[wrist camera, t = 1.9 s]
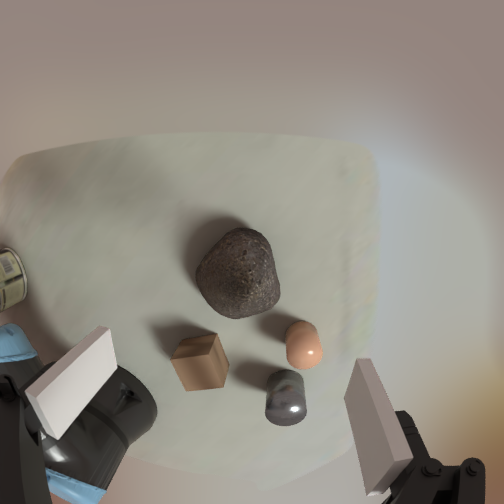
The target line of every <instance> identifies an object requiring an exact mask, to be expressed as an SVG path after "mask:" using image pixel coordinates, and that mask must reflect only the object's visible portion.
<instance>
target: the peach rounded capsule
mask: <svg viewBox="0 0 504 504" xmlns="http://www.w3.org/2000/svg"><path fill="white" fill-rule="evenodd" d="M285 337H286V353H287V360H288V362H289V364H290V365H291V366H293V367H295V368H297V369H309V368H312V367H314V366H315V365H317V364H318V363H319V362H320V360H321V358H322V355H323V351H322V347H321V344H320V340H319V336H318V333H317V330H316V328H315V326H314V325H312V324H311V323H309V322H305V321H301V322H296V323H294V324H292V325H291V326H290V327H289V328H288V329H287V331H286V336H285Z"/></svg>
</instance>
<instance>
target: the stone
mask: <svg viewBox="0 0 504 504" xmlns="http://www.w3.org/2000/svg"><path fill="white" fill-rule="evenodd" d="M196 281H197V284H198V287H199V289H200V291H201V294H202V296H203V297H204V298H205V300H206V301H207V303H208V304H209V305H210V306H211V307H212V308H213V309H214V310H215V311H216V312H218V313H219V314H221V315H223V316H225V317H228V318H231V319H240V318H245V317H249V316H252V315H256V314H258V313H261V312H264V311H266V310H269V309H271V308H272V307H273V306H274V305H275V304H276V303H277V302H278V300H279V298H280V284H279V280H278V277H277V273H276V269H275V262H274V258H273V254H272V250H271V247H270V244H269V242H268V241H267V239H266V238H265V237H264V236H263V235H262V234H261V233H259V232H257V231H256V230H253V229H247V228H236V229H234V230H232V231H230V232H228V233H227V234H226V235H225V236H224V237H223V238H222V239H221V240H220V241H219V242H218V243H217V244H216V245H215V246H214V247H213V248H212V249H211V250H210V251H209V252H208V254H207V255H206V256H205V257H204V259H203V260H202V262H201V264H200V265H199V267H198V268H197V271H196Z"/></svg>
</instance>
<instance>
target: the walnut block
mask: <svg viewBox="0 0 504 504" xmlns="http://www.w3.org/2000/svg"><path fill="white" fill-rule="evenodd" d="M170 360H171V363H172V365H173V367H174V369H175V371H176V373H177V375H178V377H179V379H180V381H181V382H182V384H183V386H184V388H185V390H186V391H196V390H206V389H214V388H223V387H224V383H225V380H226V376H227V372H228V368H229V362H228V360H227V357H226V355H225V352H224V350H223V347H222V345H221V342H220V340H219V337H218V334H212V335H206V336H201V337H195V338H189V339H183V340H182V341H181V342H180V344H179V346H178V347H177V349H176V351H175V352H174V354H173V356H172V358H171V359H170Z"/></svg>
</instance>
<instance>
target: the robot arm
mask: <svg viewBox="0 0 504 504" xmlns="http://www.w3.org/2000/svg"><path fill="white" fill-rule="evenodd" d="M344 400H345V404H346V408H347V412H348V416H349V420H350V424H351V428H352V432H353V436H354V440H355V444H356V449H357V453H358V458H359V462H360V467H361V471H362V476H363V481H364V486H365V490H366V496H371V495H377V494H383V493H384V492H385V491H386V490H387V489H388V488H389V487H390V490H391V495H390V496H389V497H388V498H387V499H386V500H385V501H384V502H383V503H382V504H485V466H484V464H483V463H482V461H481V460H479V459H477V458H468V459H466V460H464V461H463V463H462V464H461V465H460V466H443V465H442V463H441V462H440V461H438V460H436V459H433V458H430V456H429V454H428V452H427V449H426V447H425V445H424V443H423V441H422V438H421V436H420V434H419V433H418V429H417V427H415V423H414V421H413V419H412V417H411V416H410V415H409V414H408V413H407V412H406V411H394V409H393V407H392V405H391V403H390V400H389V398H388V396H387V393H386V391H385V389H384V387H383V385H382V383H381V381H380V378H379V376H378V374H377V372H376V370H375V367H374V366H373V363H372V361H371V359H356V362H355V366H354V369H353V372H352V375H351V378H350V382H349V385H348V388H347V391H346V393H345V396H344ZM156 417H157V406H156V403H155V401H154V399H153V397H152V395H151V394H150V392H149V391H148V390H147V388H146V387H145V386H144V385H143V384H142V383H141V382H140V381H139V380H138V379H137V378H135V377H134V376H133V375H132V374H130V373H129V372H127V371H126V370H124V369H122V368H121V367H119V366H117V363H116V358H115V353H114V348H113V343H112V338H111V332H110V328H106V327H102V326H98V327H97V328H96V329H95V330H94V331H92V332H91V333H90V334H89V335H88V336H86V337H85V338H84V339H83V340H82V341H80V342H79V343H78V344H77V345H76V346H75V347H73V348H72V349H71V350H70V351H69V352H68V353H67V354H65V355H64V356H63V357H62V358H61V359H60V360H58V361H57V362H55V361H54V362H52V363H50V364H47V365H46V366H44V365H43V364H42V362H41V360H40V359H39V357H38V353H37V351H36V350H35V349H34V348H33V347H32V345H31V343H30V342H29V340H28V338H27V337H26V335H25V333H24V331H23V330H22V329H21V328H20V327H19V326H18V325H16V324H13V323H8V324H5V325H2V326H0V504H52V500H51V496H50V492H52V493H54V494H55V495H57V496H59V497H61V498H63V499H64V500H66V501H68V502H70V503H72V504H98V502H99V500H100V499H101V498H102V496H103V495H104V494H105V493H106V490H107V488H108V486H109V484H110V482H111V480H112V478H113V476H114V474H115V472H116V470H117V468H118V466H119V464H120V462H121V461H122V459H123V457H124V455H125V453H126V451H127V449H128V447H129V446H130V445H131V444H132V443H133V442H134V441H136V440H137V439H138V438H140V437H141V436H142V435H143V434H144V433H146V432H147V431H148V430H149V429H150V428H151V427H152V425H153V423H154V421H155V419H156Z"/></svg>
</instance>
